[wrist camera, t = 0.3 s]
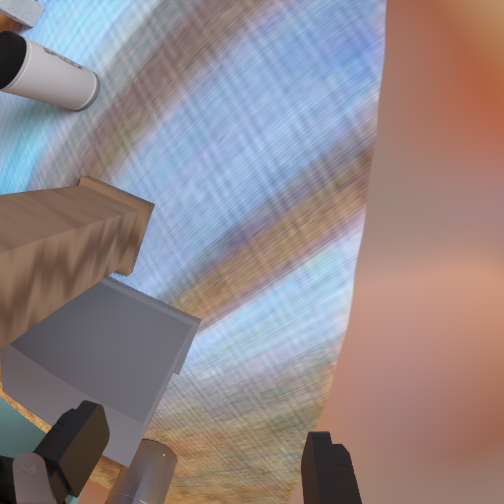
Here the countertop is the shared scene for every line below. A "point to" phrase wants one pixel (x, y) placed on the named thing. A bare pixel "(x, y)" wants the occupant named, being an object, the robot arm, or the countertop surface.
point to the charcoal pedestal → (101, 360)
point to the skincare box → (22, 11)
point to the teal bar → (20, 436)
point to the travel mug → (44, 74)
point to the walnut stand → (63, 247)
